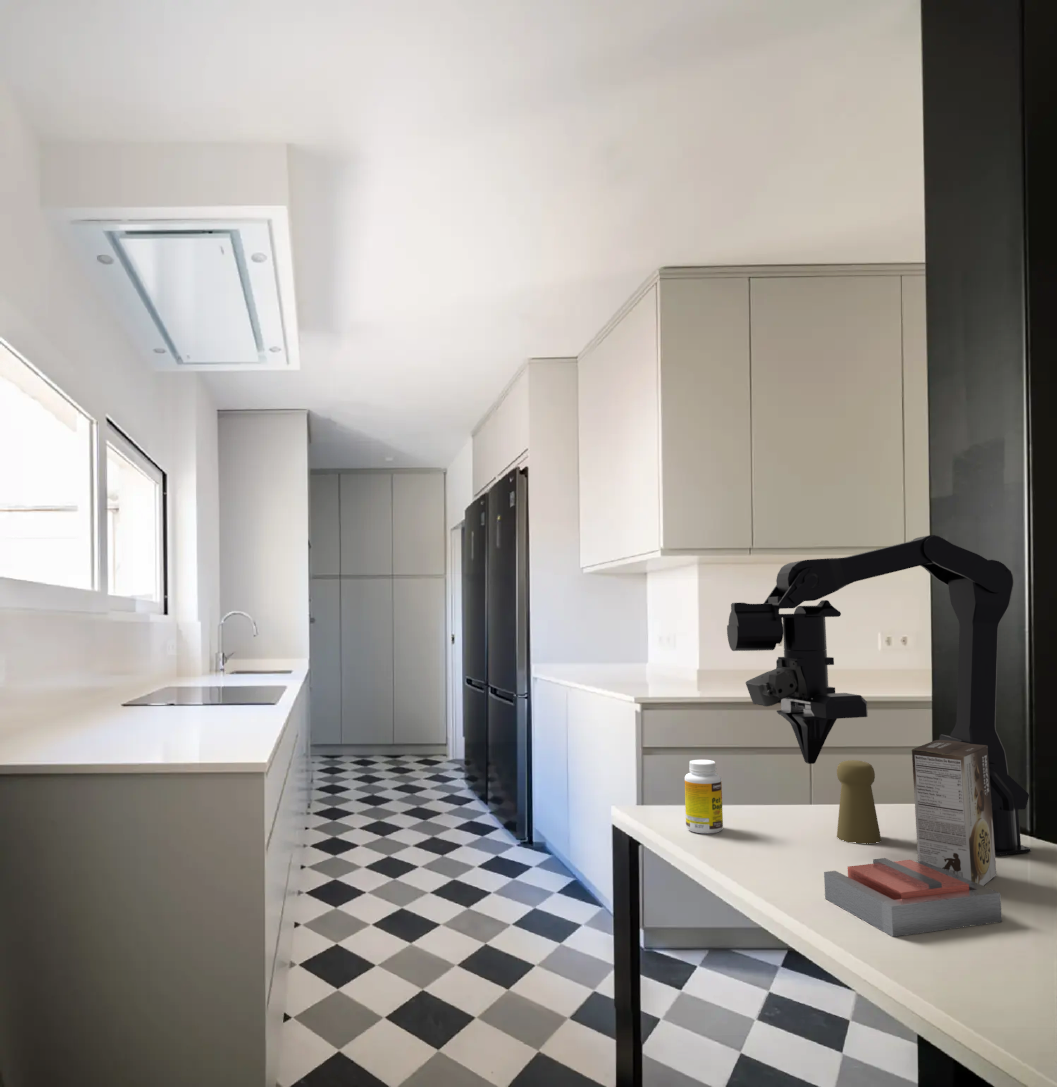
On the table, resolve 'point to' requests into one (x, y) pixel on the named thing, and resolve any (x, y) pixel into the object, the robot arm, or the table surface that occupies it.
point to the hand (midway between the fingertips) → (810, 763)
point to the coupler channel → (915, 906)
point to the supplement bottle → (703, 798)
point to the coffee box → (954, 809)
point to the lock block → (904, 879)
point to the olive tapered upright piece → (857, 803)
